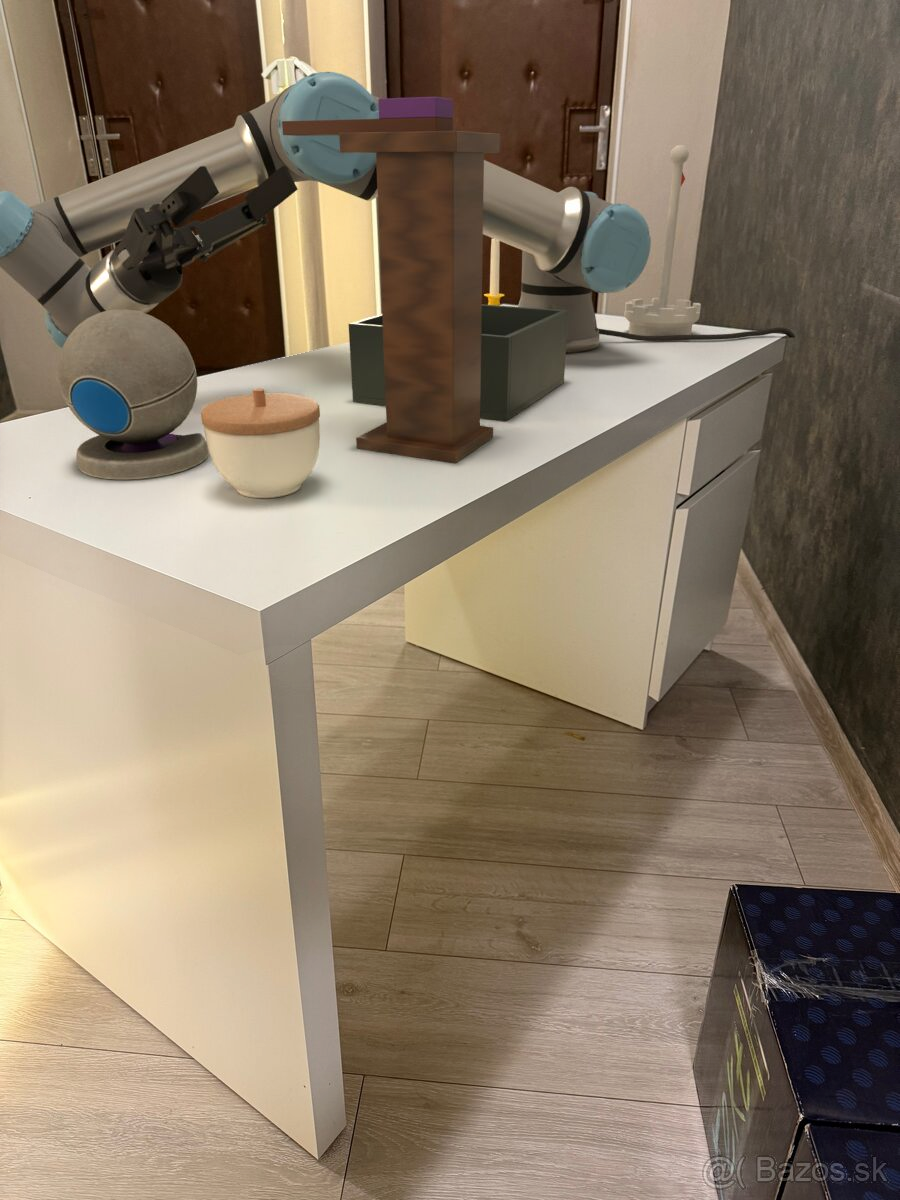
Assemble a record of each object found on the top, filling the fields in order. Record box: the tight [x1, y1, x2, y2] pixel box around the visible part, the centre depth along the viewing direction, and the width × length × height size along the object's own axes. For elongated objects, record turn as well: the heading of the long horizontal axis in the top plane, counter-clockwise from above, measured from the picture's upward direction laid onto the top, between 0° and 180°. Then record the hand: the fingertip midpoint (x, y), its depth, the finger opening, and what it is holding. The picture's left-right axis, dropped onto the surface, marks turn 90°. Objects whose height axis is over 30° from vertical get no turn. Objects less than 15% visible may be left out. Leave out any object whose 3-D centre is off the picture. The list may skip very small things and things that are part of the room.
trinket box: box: [200, 387, 321, 499], centre depth 77 cm, size 11×11×9 cm
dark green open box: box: [348, 304, 568, 422], centre depth 110 cm, size 22×22×10 cm
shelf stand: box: [339, 130, 501, 464], centre depth 85 cm, size 12×10×30 cm
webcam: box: [57, 309, 209, 480], centre depth 83 cm, size 13×13×15 cm
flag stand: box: [623, 144, 702, 336], centre depth 142 cm, size 13×13×30 cm
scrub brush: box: [282, 96, 454, 136], centre depth 80 cm, size 17×4×3 cm, turn 64°
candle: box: [483, 238, 505, 306], centre depth 155 cm, size 5×5×16 cm
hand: (252, 178), depth 87 cm, fingers open, 13 cm apart
